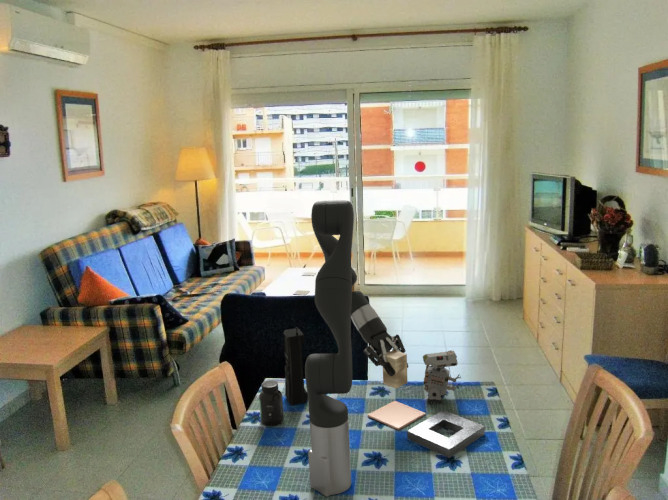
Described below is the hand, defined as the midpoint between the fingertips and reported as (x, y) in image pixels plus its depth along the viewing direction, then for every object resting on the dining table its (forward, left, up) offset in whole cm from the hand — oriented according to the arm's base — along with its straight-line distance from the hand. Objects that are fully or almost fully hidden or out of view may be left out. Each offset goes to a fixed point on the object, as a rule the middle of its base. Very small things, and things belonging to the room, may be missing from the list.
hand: (399, 371), depth 172 cm
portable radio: (-13, +33, -15) cm, 38 cm away
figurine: (+18, -1, -15) cm, 23 cm away
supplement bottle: (-27, +27, -15) cm, 41 cm away
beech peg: (0, +2, -4) cm, 5 cm away
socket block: (0, -16, -14) cm, 22 cm away
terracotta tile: (0, +2, -14) cm, 15 cm away
